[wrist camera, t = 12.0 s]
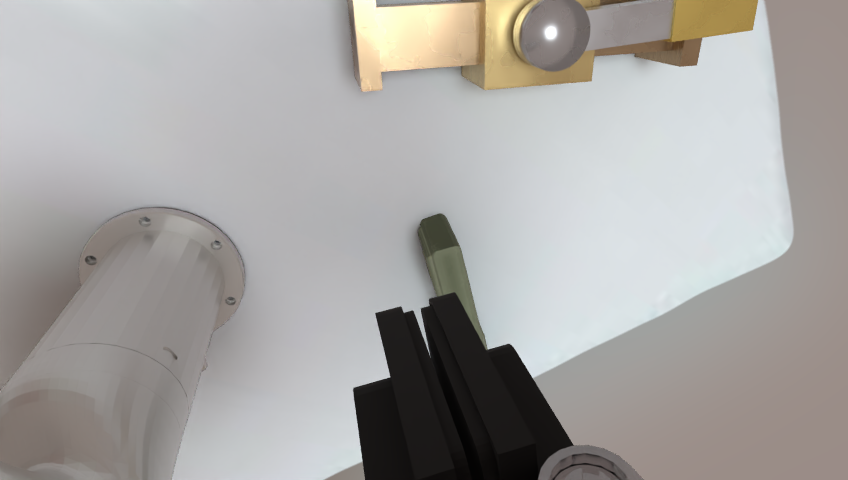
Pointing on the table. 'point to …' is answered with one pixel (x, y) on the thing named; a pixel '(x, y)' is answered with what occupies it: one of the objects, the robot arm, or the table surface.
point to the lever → (619, 26)
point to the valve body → (473, 43)
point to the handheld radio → (447, 264)
